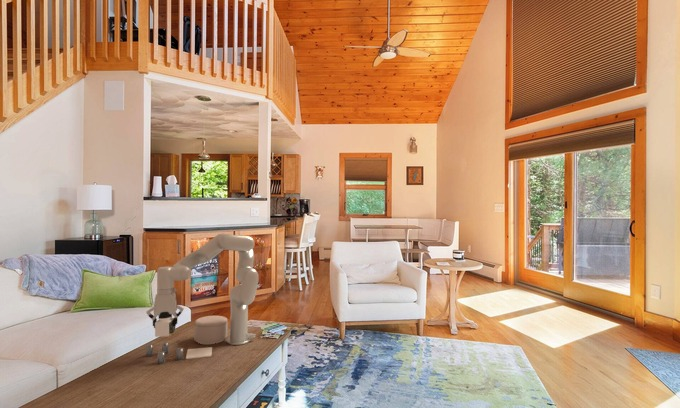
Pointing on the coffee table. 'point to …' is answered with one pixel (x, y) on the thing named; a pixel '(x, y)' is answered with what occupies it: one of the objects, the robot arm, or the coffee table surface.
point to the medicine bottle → (164, 325)
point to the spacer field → (163, 352)
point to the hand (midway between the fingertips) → (165, 326)
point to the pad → (199, 353)
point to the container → (210, 329)
